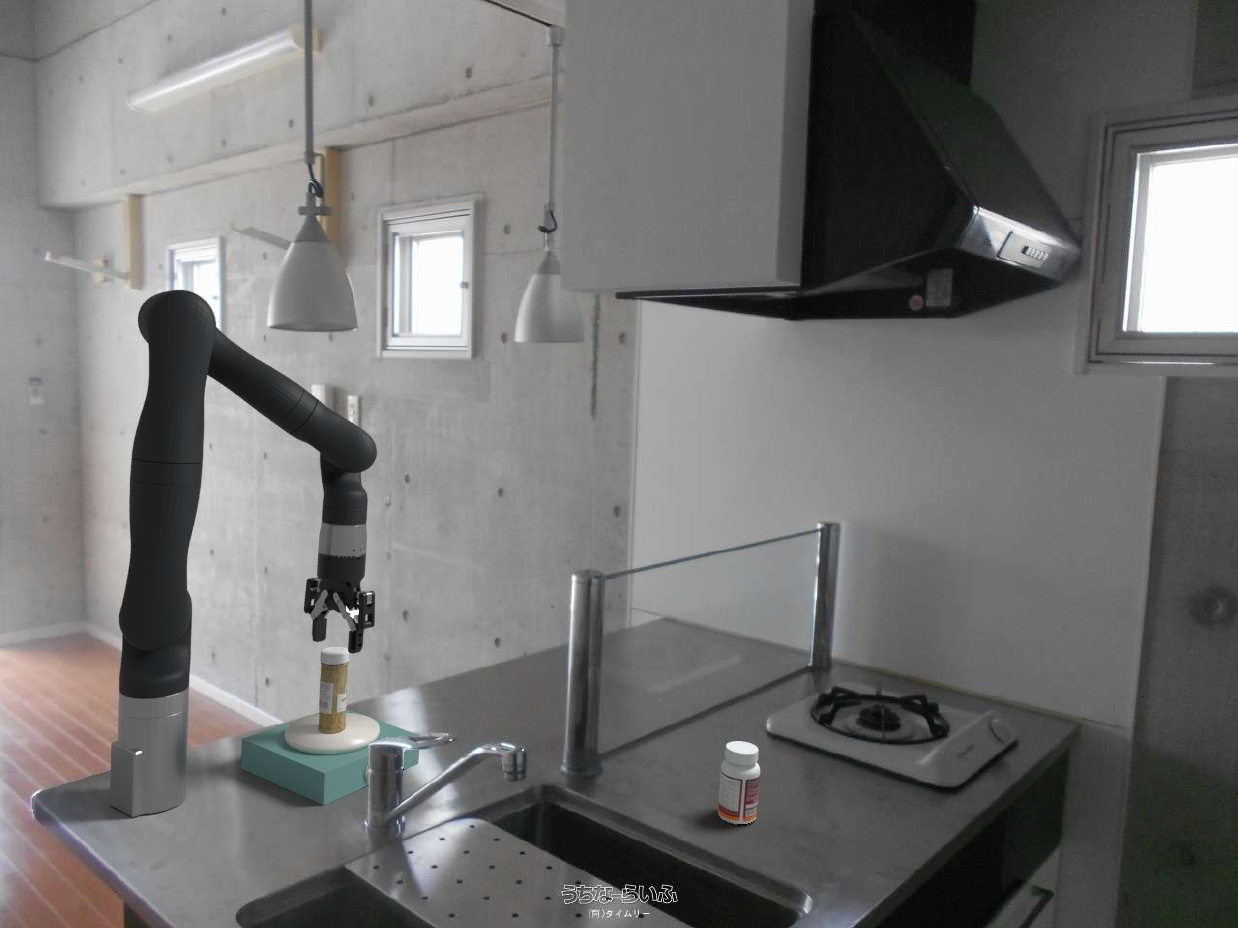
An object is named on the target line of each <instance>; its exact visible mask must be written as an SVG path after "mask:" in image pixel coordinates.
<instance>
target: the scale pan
mask: <svg viewBox="0 0 1238 928" xmlns="http://www.w3.org/2000/svg"><path fill="white" fill-rule="evenodd" d="M316 714H317V715H315V714H312V715H308V716H305V717H302V718H299V719H297V720H294V721H292V722H293V723H291V722H290V723H291V724H290V725H289V726H288V727H287V728H286V730H285V742H286V744H287V745H288V746H289V747H291V748H292V749H295V750H297V751H300V752H304V753H310V754H321V755H330V754H342V753H349V752H353V751H357V750H360V749H363V748H366V747H368V744H369V743H370V742H373V741H375V740H378V738H379V734H380V726H379V724H378V723H377V722H376V721H375V720H374V719H375V718H373V717H371V718H369V717H370V716H368V717H367V715H365V714H362V715H359V714H360V713H359V714H353V713H346V728H345V729H344V730H342V731H340V732H337V733H325V732H322V731H320V730H319V729H318V725H319V714H318V713H316ZM364 715H365V716H364ZM372 718H373V719H372Z"/></svg>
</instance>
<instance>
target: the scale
mask: <svg viewBox="0 0 1238 928" xmlns="http://www.w3.org/2000/svg"><path fill="white" fill-rule="evenodd" d="M346 713H353V714H359V715H364V716H367V715H365V714H361V713H359V712H356V711H353V710H351V709H349V708H346ZM317 714H319V712H318V713H315V714H314V715H317ZM367 717H369V718H372V719H374V720H375V721H376V722H377V723H378V724H379V726H380V734H379V738H378V740H379V739H382V738H386V737H399V736H420V737H421V735H420V734H418V733H415V732H412V731H410V730H407V729H404V728H402V727H399V726H396V725H393V724H390V723H387V722H386V721H385V722H384V721H382V720H379V719H376V718H373V717H370V716H367ZM293 722H294V721H291V722H288V723H285V724H281V725H279V726H276V727H274V728H270V729H267V730H264V731H261V732H258V733H254V734H253V735H249V736H246V737H243V738H241V748H240V749H241V753H240V754H241V755H240V769H241V770H243V771H245V772H248V773H250V774H252V775H254V776H257V777H259V778H261V779H264V780H266V781H267V782H268V781H269V782H270V783H272V784H275V785H276V786H279V787H281V788H284V789H286V790H288V791H290V792H293V793H295V794H298V795H300V796H301V797H304V798H306V799H308V800H311V801H314V802H315V803H317V804H320V805H322V806H325V805H327V804H330V803H332V802H334V801H336V800H339V799H341V798H343V797H345V796H348V795H350V794H352V793H354V792H358V791H359V790H362V789H363V787H364V786H366V787H368V786H367V774H368V747H366V748H363V749H360V750H357V751H353V752H349V753H342V754H330V755H321V754H310V753H304V752H300V751H297V750H295V749H292V748H291V747H289V746H288V745H287V744H286V742H285V730H286V728H287V727H288V726H289V725H290V724H291V723H293ZM419 756H420V749H419V750H406V751H405V752H404V769H405V770H407V769H410V768H412V767H414V766H416V765H419V760H420V759H419V758H420V757H419ZM361 788H362V789H361ZM364 788H365V787H364Z"/></svg>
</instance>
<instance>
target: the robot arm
mask: <svg viewBox="0 0 1238 928" xmlns="http://www.w3.org/2000/svg"><path fill="white" fill-rule="evenodd" d="M137 314H138V315H137V325H138V326H137V327H138V329H139V332H140V334H141V336H142V338H143V340H144V341H145V343H147V344H148V383H147V391H146V396H145V400H144V402H143V407H142V410H141V413H140V415H139V419H138V422H137V426H136V431H135V433H134V437H133V444H132V449H131V455H130V456H131V459H130V470H129V471H130V473H129V497H128V499H129V500H128V505H129V507H128V508H129V509H128V513H129V516H128V517H129V535H130V536H129V537H130V540H129V541H130V554H129V563H128V570H127V575H126V581H125V587H124V593H123V596H122V601H121V606H120V609H119V612H118V625H119V629H120V632H121V634H122V637H121V639H122V640H121V643H122V644H121V657H120V667H119V676H118V712H117V715H118V716H117V717H118V718H117V740H114V741H112V743H111V745H110V781H109V782H110V789H109V793H110V794H109V805H110V806H111V807H113V808H115V809H117V810H118V811H121V812H123V813H124V814H126V815H128V816H130V817H132V818H134V817H137V816H141V815H149V814H156V813H160V812H164V811H168V810H170V809H173V808H174V807H177V806H179V805H180V804H181V803H183V801H185V799H186V797H187V772H188V771H187V769H188V768H187V767H188V765H187V764H188V739H189V738H188V737H189V736H188V735H189V734H188V732H189V704H190V702H189V701H190V699H189V697H190V674H191V673H190V672H191V659H192V657H191V656H192V631H193V630H192V624H193V602H192V601H193V600H192V596H191V595H190V593H189V590H188V558H189V557H188V555H189V548H190V543H191V539H192V535H193V531H194V526H195V522H196V520H197V519H196V517H197V513H198V507H199V503H200V495H201V488H202V480H203V469H204V467H203V465H204V448H205V447H204V446H205V445H204V443H205V395H206V386H207V380H208V379H207V378H208V377H209V378H211V379H213V380H214V381H216V382H217V383H219V384H221V385H222V386H223V387H225V388H226V389H227V390H229V391H230V392H232V393H233V394H235V396H237V397H239V398H240V399H241V400H242V401H244V402H245V403H246V404H247V405H249V406H251V407H252V408H253V409H254V410H256V411H257V412H258V413H259V414H260V415H262V416H264V417H265V418H266V419H267V420H269V421H270V422H272V424H274V425H276V426H277V427H279V428H280V429H281V430H283V431H284V432H285V433H287V434H288V435H289V436H290V437H291V436H292V437H293V438H295V439H296V440H299V441H301V442H303V443H306V444H307V445H310V446H311V447H312V448H314V449H315V450H316V451H317V452H319V467H320V476H321V484H322V490H323V499H322V512H321V525H320V528H319V529H320V530H319V534H318V535H319V536H318V550H317V565H316V567H317V570H316V576H317V577H312V578H307V579H306V582H305V593H304V602H303V603H304V604H303V613H304V614H308V615H310V618H311V620H312V628H311V630H312V631H311V637H312V641H313V642H314V643H315V642H316V643H321V642H323V641H325V640H326V637H327V628H328V626H327V625H328V618H327V616H328V615H329V614H330V612H331V611H335V612H337V613H339V614H341V617H342V618H343V619H344V620H346V621H347V624H348V627H349V629H350V630H349V631H348V642H347V643H348V644H347V646H348V647H347V649H348V652H349V654H352V655H353V654H358V653H360V652H361V651H362V649H363V645H364V635H365V634H364V632H365V630H366V629H371V628H374V627H375V624H376V623H375V622H376V620H375V619H376V617H375V615H376V593H375V590H369V591H368V590H367V591H366V590H365V591H364V590H362V587H361V582H362V580H363V579H364V578H365V576H366V562H367V561H366V560H367V547H368V545H367V544H368V531H367V530H368V529H367V520H368V505H369V504H368V503H369V501H368V500H369V498H368V493H367V491H366V489H365V488H364V486H363V484H362V472H365V471H367V470H369V469H370V468H371V467H372V466H373V465H375V462H376V460H377V456H378V448H377V445H376V442H375V440H374V439H373V438H372V436H371V435H370V434H369V433H368V432H366V430H364V429H362V428H361V427H360V426H358V425H357V424H356V423H354V422H352V421H350V420H349V419H348V418H345V417H344V416H342V415H341V414H339V413H337V412H336V411H334V410H332V409H331V408H329V407H328V406H326V405H325V404H324V403H323V402H322V401H321V400H320V399H319V398H317V397H316V396H314V394H312V393H311V392H309V391H308V390H307V389H305V388H304V387H303V386H301V385H300V384H299V383H298V382H296V381H294V380H293V379H291V378H290V377H288V376H286V374H284V373H282V372H281V371H279V370H277V369H276V368H274V367H273V366H271V365H268V364H267V363H266V362H263V361H262V360H260V359H258V358H257V357H255V356H254V355H253V354H251V353H249V352H248V351H246V350H244V349H243V348H242V347H241V346H239V345H238V344H237V343H235V342H234V341H232V340H231V339H230V338H229V337H228V336H227V335H226V334H224V332H222V331H221V330H220V328H218V327H217V320H216V316H215V312H214V311H213V308H212V307H211V305H210V304H209V303H208V302H207V300H206V299H204V298H203V297H202V296H201V295H199V294H197V293H196V292H193V291H191V290H186V289H172V290H167V291H166V290H165V291H161V292H157V293H156V294H154V295H152V296H150V297H148V298H147V299H146V300H145V301H144V302H143V303H142V305H141V306H140V308H139V311H138V313H137ZM312 601H313V604H312ZM353 609H354V610H353ZM352 610H353V611H352ZM366 617H367V618H366ZM355 619H356V621H355ZM366 619H367V620H366Z"/></svg>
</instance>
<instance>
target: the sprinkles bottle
mask: <svg viewBox="0 0 1238 928" xmlns="http://www.w3.org/2000/svg"><path fill="white" fill-rule="evenodd" d="M319 657H320V660H319V661H320V665H321V667H320V679H319V696H318V697H319V700H318V702H319V703H318V708H319V709H318V711H319V712H318V713H319V725H318V729H319V730H320V731H322V732H325V733H337V732H340V731H342V730H344V729H345V728H346V709H347V704H348V703H347V702H348V700H347V699H348V671H349V670H348V669H349V668H348V667H349V661H350V653H349V652H348V647H344V646H328V647H324V648H322V649H321V650H320V656H319Z"/></svg>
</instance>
